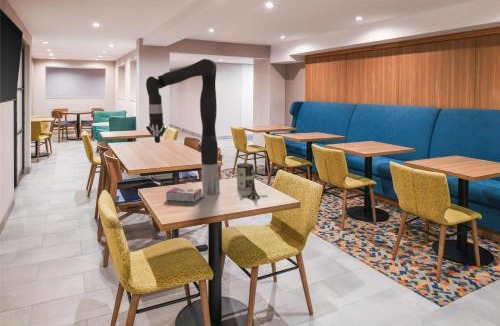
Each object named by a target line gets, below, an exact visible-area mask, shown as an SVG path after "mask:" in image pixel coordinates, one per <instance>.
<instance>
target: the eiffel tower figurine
mask: <svg viewBox="0 0 500 326" xmlns="http://www.w3.org/2000/svg"><path fill="white" fill-rule="evenodd" d="M255 185H256V184H255V176H253V187H252V189H251V192H250V194H244V195H241V196H240V198H239V200H241V201H243V200H245V199H249V200H252V201H255V200H258V199H261V198H268V195H267V194H266V195H265V194H262V195H261V194H260V195H259V194H258V192H257V190H256V187H255Z"/></svg>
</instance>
